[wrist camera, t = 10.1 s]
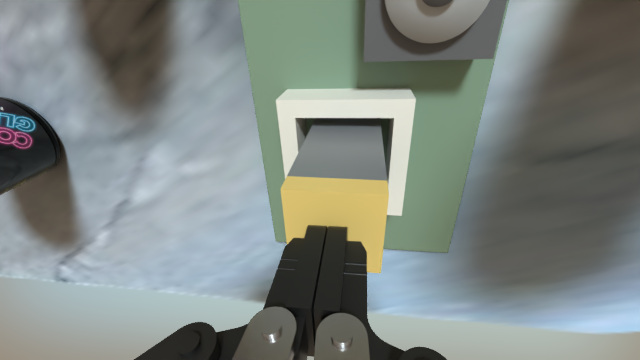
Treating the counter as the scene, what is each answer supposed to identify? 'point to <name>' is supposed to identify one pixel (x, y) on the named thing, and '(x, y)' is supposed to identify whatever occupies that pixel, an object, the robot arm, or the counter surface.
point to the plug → (340, 183)
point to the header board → (377, 94)
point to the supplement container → (24, 145)
